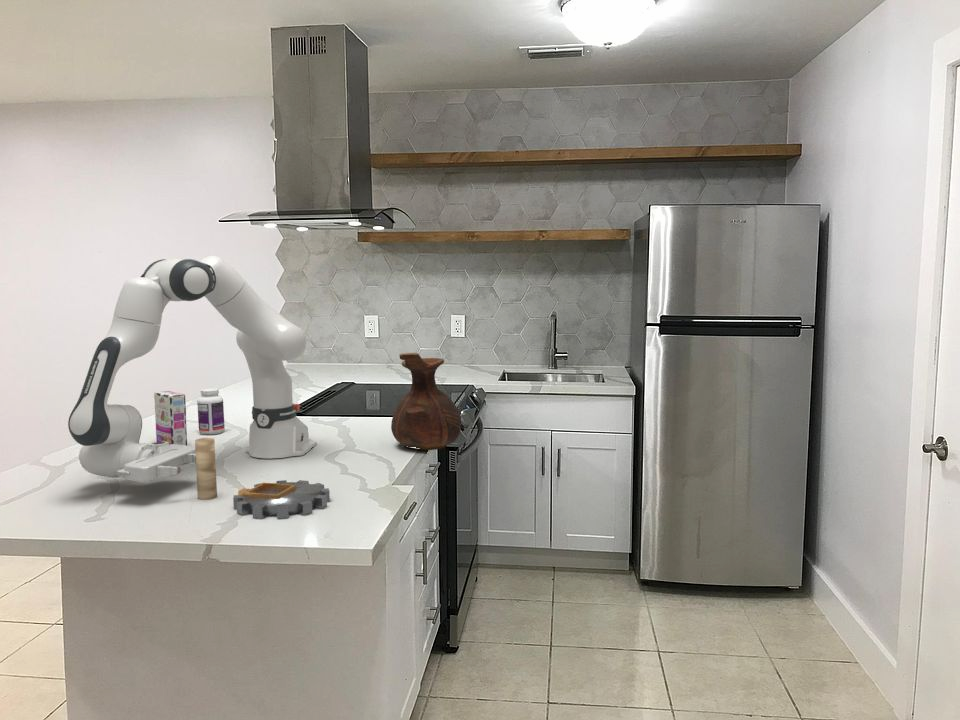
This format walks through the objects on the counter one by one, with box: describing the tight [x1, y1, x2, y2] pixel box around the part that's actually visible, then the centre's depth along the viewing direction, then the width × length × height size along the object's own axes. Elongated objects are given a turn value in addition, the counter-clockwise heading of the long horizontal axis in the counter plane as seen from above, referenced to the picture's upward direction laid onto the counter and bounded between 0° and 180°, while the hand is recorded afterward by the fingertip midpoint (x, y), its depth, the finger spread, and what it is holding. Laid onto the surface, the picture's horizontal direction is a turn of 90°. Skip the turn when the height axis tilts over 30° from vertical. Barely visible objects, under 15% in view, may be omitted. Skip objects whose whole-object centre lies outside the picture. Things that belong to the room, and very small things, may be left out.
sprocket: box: [232, 479, 331, 520], centre depth 181 cm, size 22×22×3 cm
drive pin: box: [194, 437, 218, 501], centre depth 185 cm, size 4×4×14 cm
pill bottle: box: [197, 387, 226, 436], centre depth 254 cm, size 8×8×14 cm
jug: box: [390, 352, 462, 451], centre depth 235 cm, size 22×22×30 cm
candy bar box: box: [153, 390, 188, 446], centre depth 236 cm, size 11×5×16 cm, turn 47°
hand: (190, 465), depth 186 cm, fingers open, 8 cm apart
